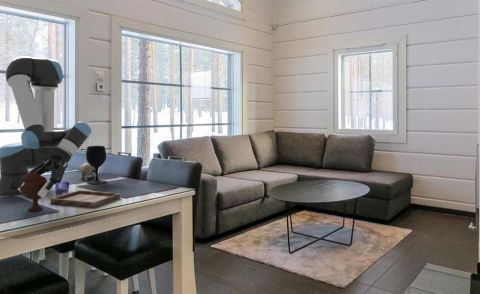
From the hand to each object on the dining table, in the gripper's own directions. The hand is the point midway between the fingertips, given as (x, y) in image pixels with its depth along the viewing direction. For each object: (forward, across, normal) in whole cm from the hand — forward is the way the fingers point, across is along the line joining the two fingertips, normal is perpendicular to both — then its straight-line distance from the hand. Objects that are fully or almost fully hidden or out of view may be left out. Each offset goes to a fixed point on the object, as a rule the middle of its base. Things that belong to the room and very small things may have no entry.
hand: (30, 194), depth 147 cm
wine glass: (-32, +27, -42) cm, 59 cm away
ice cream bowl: (+4, 0, -6) cm, 7 cm away
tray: (-11, -4, -21) cm, 24 cm away
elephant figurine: (-36, +43, -46) cm, 73 cm away
